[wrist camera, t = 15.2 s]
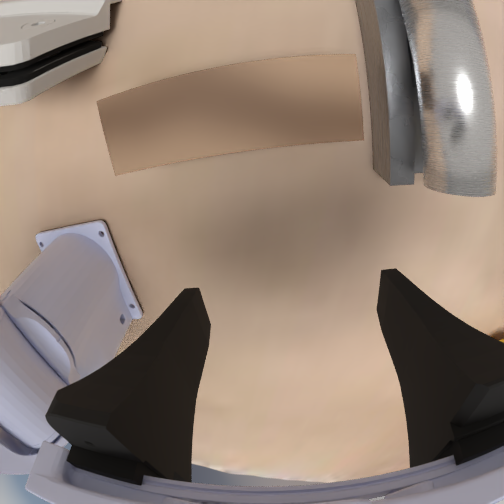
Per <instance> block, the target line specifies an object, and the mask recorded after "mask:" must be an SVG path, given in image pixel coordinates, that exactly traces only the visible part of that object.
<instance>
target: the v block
mask: <svg viewBox="0 0 504 504" xmlns="http://www.w3.org/2000/svg"><path fill="white" fill-rule="evenodd" d="M356 5H357V10H358V16H359V21H360V27H361V33H362V39H363V46H364V53H365V60H366V68H367V77H368V86H369V97H370V108H371V122H372V141H373V169H374V170H375V171H376V172H377V173H378V174H379V175H380V176H381V177H382V178H383V179H384V180H385V181H386V182H387V183H388V184H389V185H390V186H392V185H411V184H414V173H423V149H422V133H421V120H420V110H419V101H418V93H417V85H416V79H415V72H414V66H413V60H412V55H411V50H410V45H409V40H408V35H407V31H406V26H405V22H404V18H403V14H402V10H401V6H400V3H399V0H356Z"/></svg>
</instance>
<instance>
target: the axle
mask: <svg viewBox="0 0 504 504" xmlns="http://www.w3.org/2000/svg"><path fill="white" fill-rule="evenodd" d="M399 3H400V6H401V10H402V14H403V18H404V22H405V26H406V31H407V35H408V40H409V45H410V50H411V55H412V60H413V66H414V72H415V79H416V85H417V93H418V101H419V110H420V120H421V133H422V149H423V181H424V186H425V187H427V188H429V189H431V190H434V191H438V192H442V193H447V194H452V195H460V196H471V197H484V196H491V195H494V194H495V193H496V179H497V141H496V121H495V109H494V99H493V91H492V83H491V76H490V70H489V64H488V59H487V54H486V49H485V44H484V40H483V36H482V31H481V28H480V24H479V20H478V16H477V13H476V10H475V6H474V3H473V0H399Z"/></svg>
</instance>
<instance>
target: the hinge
mask: <svg viewBox="0 0 504 504" xmlns="http://www.w3.org/2000/svg"><path fill="white" fill-rule="evenodd" d="M120 1H122V0H0V106H5V105H16V104H20V103H24V102H26V101H29V100H31V99H32V98H34V97H36V96H37V95H39V94H41V93H42V92H44V91H46V90H48V89H49V88H51V87H53V86H55V85H57V84H58V83H60V82H62V81H64V80H66V79H68V78H70V77H72V76H74V75H76V74H78V73H80V72H82V71H84V70H86V69H88V68H91V67H93V66H95V65H97V64H99V63H101V62H102V60H103V58H104V56H105V53H106V50H107V47H104V46H102V42H99V41H91V39H94V38H97V37H100V36H103V31H105V30H108V29H110V4H112V3H116V2H120Z"/></svg>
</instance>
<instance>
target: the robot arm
mask: <svg viewBox="0 0 504 504" xmlns="http://www.w3.org/2000/svg"><path fill="white" fill-rule="evenodd" d="M101 231H102V232H103V233H104V235H103V234H102V233H101ZM36 241H37V243H38V245H39V248H40V250H41V253H40V254H39V255H38V256H37V257H36V258H35V259H34V260H33V261H32V262H31V263H30V264H29V265H28V266H27V267H26V268H25V270H24V271H23V272H22V273H21V274H20V275H19V276H18V277H17V278H16V279H15V280H14V281H13V282H12V283H11V285H10V286H9V287H8V288H7V289H6V290H5V291H4V292H3V294H2V295H1V296H0V474H30V475H29V478H28V481H27V483H26V486H25V489H26V490H27V491H29V492H31V493H33V494H34V495H36V496H38V497H40V498H42V499H43V500H46V501H47V502H49V503H51V504H495V503H497V502H499V501H501V500H503V499H504V342H501V341H499V340H496V339H494V338H492V337H490V336H488V335H486V334H484V333H482V332H480V331H478V330H477V329H475V328H473V327H471V326H469V325H468V324H466V323H465V322H463V321H461V320H460V319H458V318H457V317H455V316H454V315H452V314H451V313H449V312H448V311H447V310H445V309H444V308H443V307H441V306H440V305H439V304H437V303H436V302H435V301H434V300H432V299H431V298H430V297H429V296H427V295H426V294H425V293H424V292H423V291H421V290H420V289H419V288H418V287H417V286H416V285H414V284H413V283H412V282H411V281H410V280H409V279H408V278H406V277H405V276H404V275H403V274H402V273H401V272H399V271H398V270H397V269H396V268H395V269H387V270H381V278H380V287H379V296H378V304H377V313H378V317H379V322H380V326H381V330H382V333H383V336H384V339H385V341H386V344H387V347H388V350H389V352H390V355H391V358H392V361H393V364H394V366H395V369H396V372H397V375H398V379H399V382H400V387H401V392H402V397H403V402H404V408H405V414H406V421H407V430H408V440H409V455H410V468H408V469H404V470H400V471H396V472H391V473H387V474H382V475H377V476H372V477H366V478H360V479H354V480H347V481H340V482H332V483H323V484H313V485H299V486H274V487H273V486H272V487H251V486H248V487H247V486H224V485H211V484H200V483H192V482H191V458H192V436H193V424H194V414H195V405H196V398H197V393H198V388H199V384H200V380H201V376H202V372H203V368H204V364H205V359H206V355H207V351H208V347H209V339H210V328H211V324H210V321H209V317H208V314H207V311H206V308H205V305H204V302H203V299H202V296H201V292H200V289H199V288H187V289H184V290H183V291H182V292H181V293H180V294H179V295H178V297H177V298H176V299H175V300H174V301H173V302H172V303H171V305H170V306H169V307H168V308H167V309H166V310H165V311H164V312H163V313H162V315H161V316H160V317H159V318H158V319H157V320H156V321H155V322H154V323H153V324H152V325H151V326H150V327H149V328H148V329H147V330H146V331H145V332H144V333H143V334H142V335H141V336H140V337H139V338H138V339H137V340H136V341H135V342H134V343H133V344H131V345H130V346H129V347H128V348H127V349H125V350H124V351H123V352H122V353H121V354H119V355H118V356H116V357H115V355H116V353H117V351H118V349H119V346H120V344H121V342H122V340H123V338H124V336H125V334H126V332H127V329H128V327H129V325H130V323H131V321H132V319H140V318H141V317H142V315H143V313H142V310H141V308H140V306H139V304H138V302H137V299H136V297H135V295H134V293H133V290H132V288H131V286H130V284H129V281H128V279H127V276H126V274H125V272H124V269H123V267H122V264H121V262H120V259H119V257H118V254H117V252H116V249H115V247H114V244H113V242H112V239H111V236H110V234H109V231H108V228H107V225H106V223H105V222H104V221H102V220H97V221H92V222H87V223H82V224H77V225H72V226H67V227H63V228H58V229H53V230H49V231H44V232H40V233H38V234H37V235H36ZM132 304H133V305H134V306H133V305H132ZM114 357H115V358H114ZM68 442H69V443H70V444H71V445H72V447H71V449H70V451H69V450H67V449H65V448H63V447H64V446H65V445H66V444H67V443H68ZM381 496H385V498H384V499H383V500H376V501H370V500H369V499H371V498H377V497H381Z"/></svg>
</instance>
